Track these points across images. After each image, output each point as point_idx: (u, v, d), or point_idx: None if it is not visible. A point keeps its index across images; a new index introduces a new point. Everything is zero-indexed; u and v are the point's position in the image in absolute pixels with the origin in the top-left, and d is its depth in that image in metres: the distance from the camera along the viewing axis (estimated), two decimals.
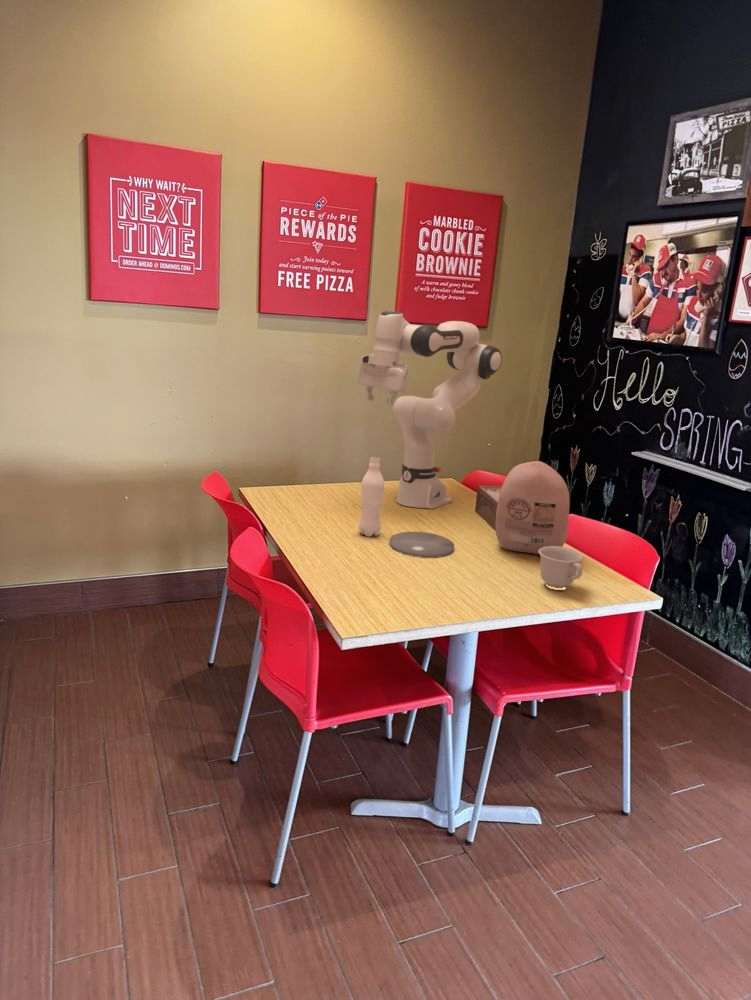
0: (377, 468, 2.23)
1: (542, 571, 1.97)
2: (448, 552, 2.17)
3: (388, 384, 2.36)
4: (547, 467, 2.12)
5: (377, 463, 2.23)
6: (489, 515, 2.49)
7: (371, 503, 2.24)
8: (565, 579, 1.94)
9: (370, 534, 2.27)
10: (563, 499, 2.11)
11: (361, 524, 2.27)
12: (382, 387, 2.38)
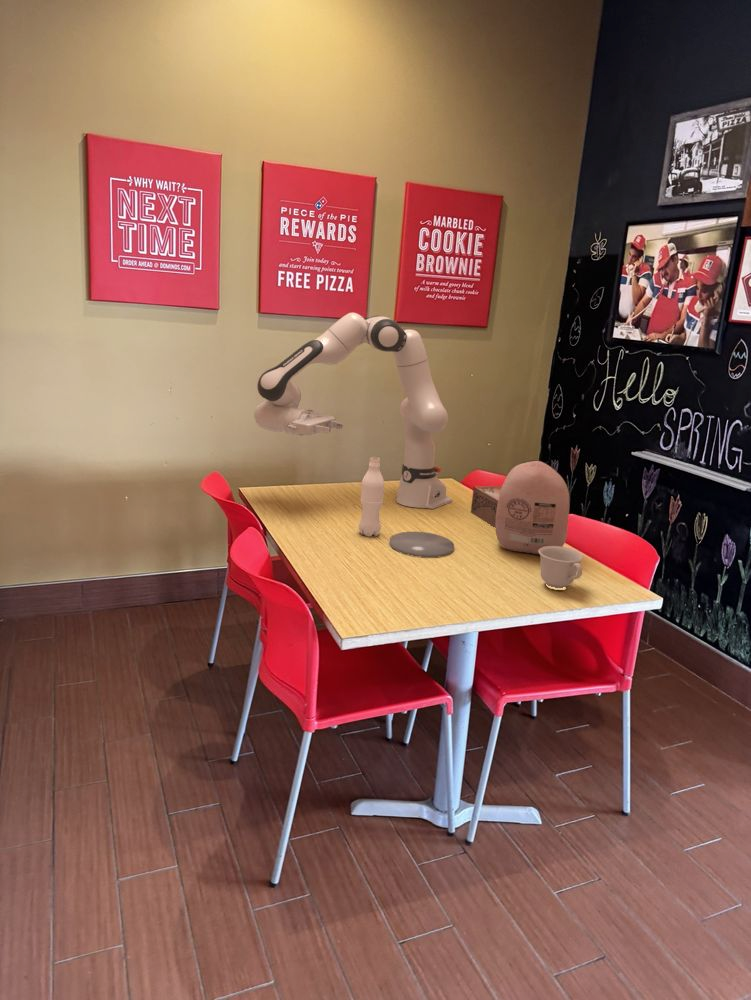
0: (377, 468, 2.23)
1: (542, 571, 1.97)
2: (448, 552, 2.17)
3: None
4: (547, 467, 2.12)
5: (377, 463, 2.23)
6: (491, 516, 2.48)
7: (371, 503, 2.24)
8: (565, 579, 1.94)
9: (370, 534, 2.27)
10: (563, 499, 2.11)
11: (361, 524, 2.27)
12: None
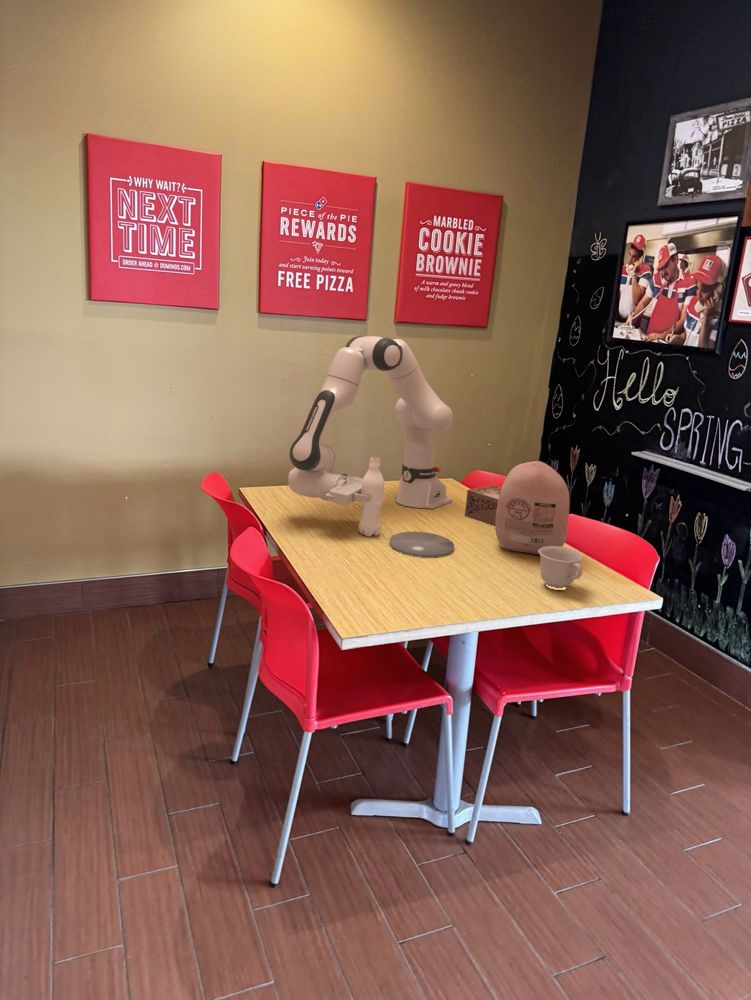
0: (377, 468, 2.23)
1: (542, 571, 1.97)
2: (448, 552, 2.17)
3: None
4: (547, 467, 2.12)
5: (377, 463, 2.23)
6: None
7: (371, 503, 2.24)
8: (565, 579, 1.94)
9: (370, 534, 2.27)
10: (563, 499, 2.11)
11: (361, 524, 2.27)
12: None
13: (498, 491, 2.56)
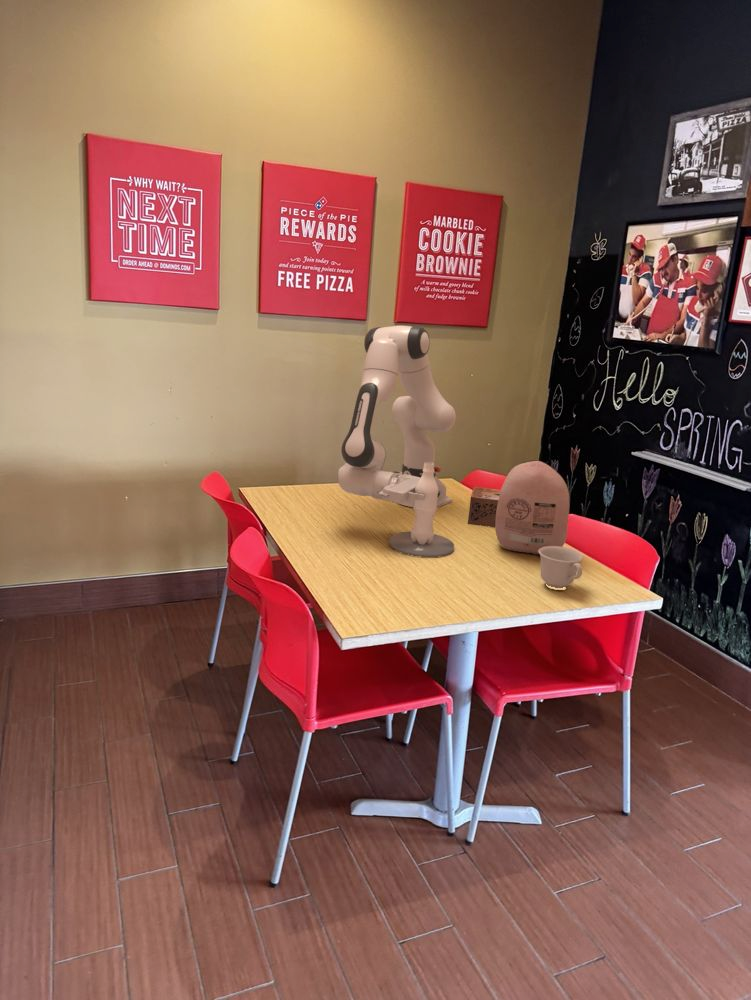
0: (431, 474, 2.16)
1: (542, 571, 1.97)
2: (448, 552, 2.17)
3: None
4: (547, 467, 2.12)
5: (431, 469, 2.16)
6: None
7: (425, 510, 2.17)
8: (565, 579, 1.94)
9: (423, 542, 2.20)
10: (563, 499, 2.11)
11: (414, 532, 2.20)
12: None
13: (492, 493, 2.53)
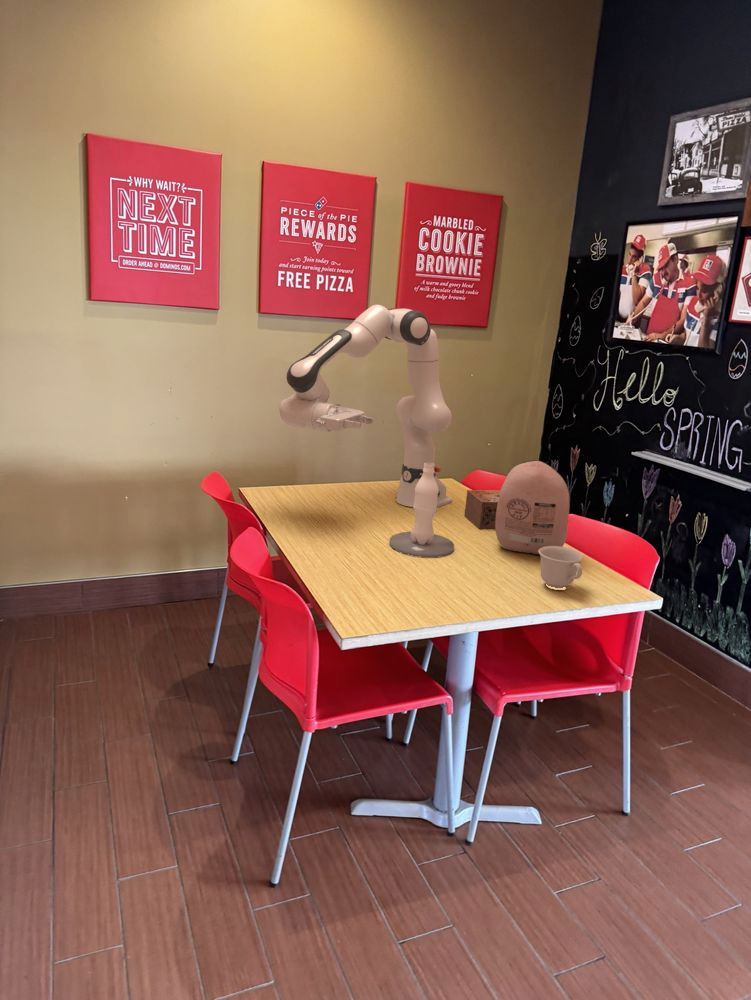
0: (432, 474, 2.16)
1: (542, 571, 1.97)
2: (448, 552, 2.17)
3: None
4: (547, 467, 2.12)
5: (432, 469, 2.16)
6: None
7: (425, 510, 2.17)
8: (565, 579, 1.94)
9: (423, 542, 2.20)
10: (563, 499, 2.11)
11: (414, 532, 2.20)
12: None
13: (492, 494, 2.51)
